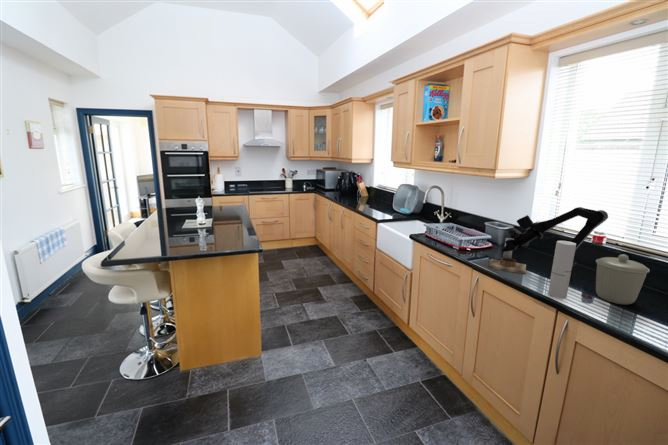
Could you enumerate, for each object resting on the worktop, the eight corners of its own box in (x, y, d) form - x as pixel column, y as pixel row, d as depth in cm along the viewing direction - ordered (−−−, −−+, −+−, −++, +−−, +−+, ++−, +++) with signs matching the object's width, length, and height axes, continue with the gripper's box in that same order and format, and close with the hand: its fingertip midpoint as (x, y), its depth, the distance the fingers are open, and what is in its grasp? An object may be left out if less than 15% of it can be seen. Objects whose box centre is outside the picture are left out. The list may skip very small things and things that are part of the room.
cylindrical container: (570, 298, 147) (580, 245, 142) (554, 298, 147) (563, 244, 142) (559, 292, 154) (569, 240, 149) (544, 291, 154) (553, 240, 149)
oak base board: (525, 266, 188) (526, 264, 188) (525, 274, 176) (525, 271, 176) (491, 261, 197) (491, 258, 197) (488, 267, 185) (489, 265, 185)
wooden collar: (515, 264, 188) (516, 259, 187) (515, 268, 181) (516, 263, 180) (500, 261, 192) (501, 256, 191) (499, 265, 185) (500, 260, 184)
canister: (589, 288, 160) (598, 246, 155) (639, 299, 149) (650, 254, 144) (588, 300, 146) (597, 255, 142) (643, 313, 135) (654, 264, 130)
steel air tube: (511, 261, 198) (514, 238, 195) (510, 263, 194) (514, 240, 191) (502, 259, 200) (505, 237, 198) (502, 261, 197) (505, 239, 194)
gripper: (526, 222, 195) (505, 236, 206) (511, 226, 184) (489, 240, 195) (538, 238, 190) (516, 252, 201) (523, 243, 179) (501, 257, 190)
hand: (505, 250), depth 197 cm, fingers open, 9 cm apart
